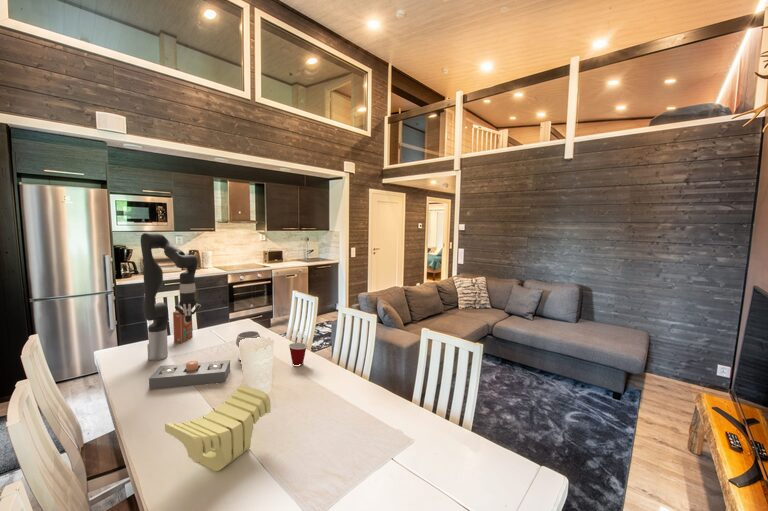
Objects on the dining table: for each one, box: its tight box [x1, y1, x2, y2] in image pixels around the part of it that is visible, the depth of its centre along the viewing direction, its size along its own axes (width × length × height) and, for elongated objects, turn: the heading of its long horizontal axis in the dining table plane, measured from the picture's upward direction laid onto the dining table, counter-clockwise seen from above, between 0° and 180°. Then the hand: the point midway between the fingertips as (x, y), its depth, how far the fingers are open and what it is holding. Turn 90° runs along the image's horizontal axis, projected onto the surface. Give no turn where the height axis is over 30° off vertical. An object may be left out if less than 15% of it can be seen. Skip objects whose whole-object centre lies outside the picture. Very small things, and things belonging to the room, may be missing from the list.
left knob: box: [162, 368, 175, 374], centre depth 169 cm, size 6×6×5 cm
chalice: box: [235, 330, 261, 362], centre depth 201 cm, size 14×14×15 cm
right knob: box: [209, 364, 221, 370], centre depth 175 cm, size 6×6×5 cm
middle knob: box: [185, 360, 199, 372], centre depth 172 cm, size 6×6×5 cm
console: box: [148, 359, 231, 391], centre depth 172 cm, size 34×15×6 cm, turn 106°
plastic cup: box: [288, 342, 308, 365], centre depth 193 cm, size 11×11×12 cm
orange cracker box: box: [172, 307, 194, 344], centre depth 227 cm, size 21×7×15 cm
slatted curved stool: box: [164, 383, 271, 472], centre depth 117 cm, size 30×16×18 cm, turn 154°
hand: (188, 321), depth 183 cm, fingers closed
